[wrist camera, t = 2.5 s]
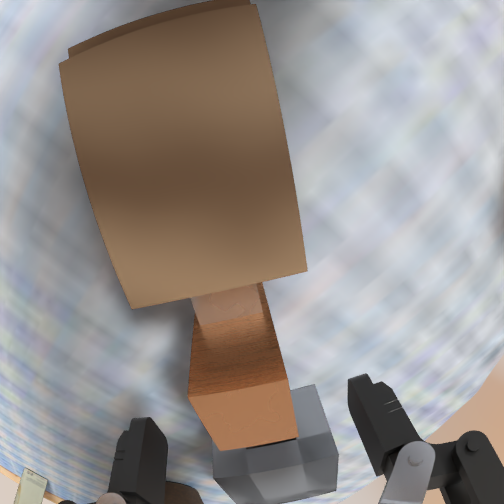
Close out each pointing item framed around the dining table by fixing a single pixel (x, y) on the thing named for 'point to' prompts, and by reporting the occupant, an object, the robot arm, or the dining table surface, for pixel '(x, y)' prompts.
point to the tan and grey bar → (239, 370)
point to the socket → (283, 460)
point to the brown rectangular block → (185, 152)
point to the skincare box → (30, 488)
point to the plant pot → (181, 494)
